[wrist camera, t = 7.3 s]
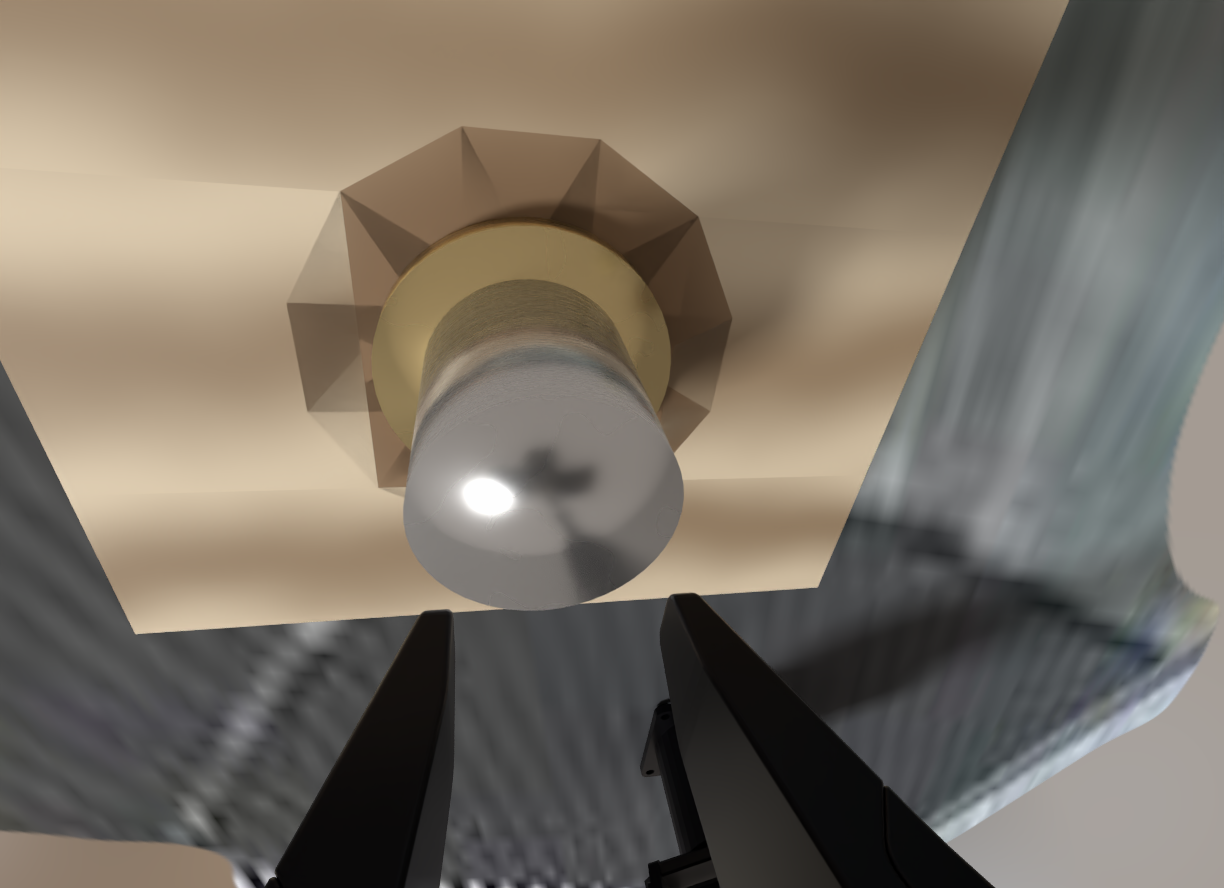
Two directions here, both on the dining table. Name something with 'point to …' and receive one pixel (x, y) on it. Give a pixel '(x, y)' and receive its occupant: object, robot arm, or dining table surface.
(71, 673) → the dining table surface
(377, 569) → the jig
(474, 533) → the silver and gold knob
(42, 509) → the dining table surface
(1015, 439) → the dining table surface
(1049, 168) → the dining table surface
